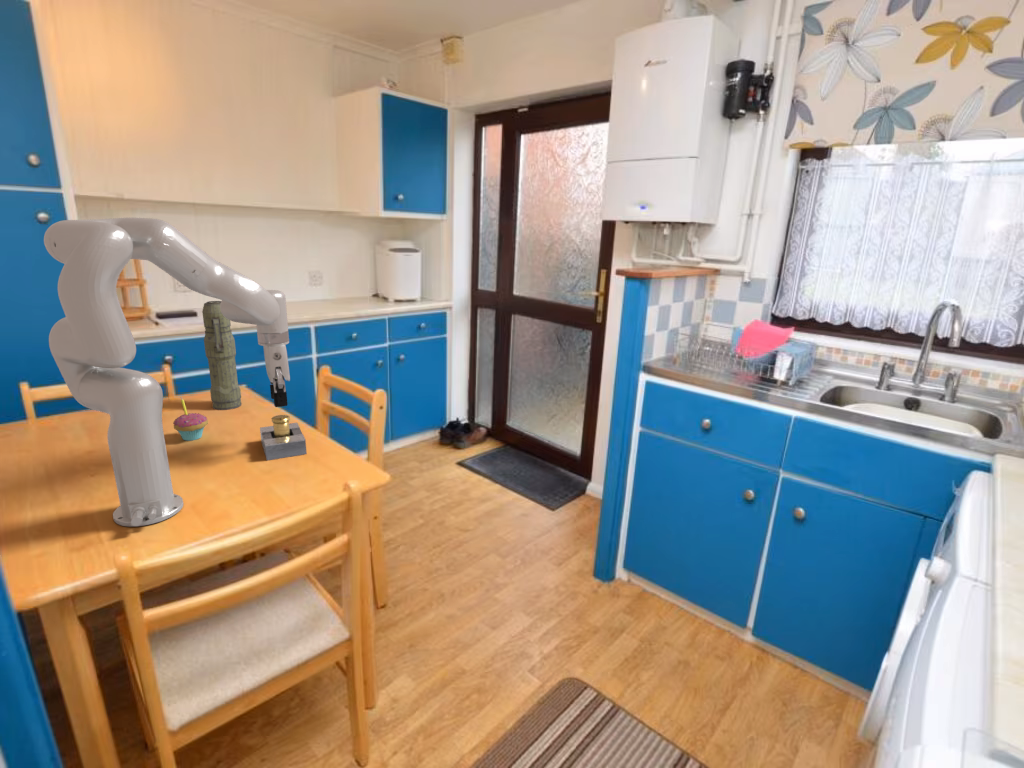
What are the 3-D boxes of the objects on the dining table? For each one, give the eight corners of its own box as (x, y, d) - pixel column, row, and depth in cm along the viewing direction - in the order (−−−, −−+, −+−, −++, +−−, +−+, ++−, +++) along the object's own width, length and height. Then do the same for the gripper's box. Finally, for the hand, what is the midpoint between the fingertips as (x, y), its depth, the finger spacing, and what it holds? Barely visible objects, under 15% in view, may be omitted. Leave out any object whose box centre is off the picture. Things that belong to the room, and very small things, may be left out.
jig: (306, 453, 146) (305, 439, 145) (266, 460, 142) (265, 445, 140) (298, 436, 158) (297, 422, 157) (261, 441, 153) (259, 427, 152)
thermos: (239, 398, 187) (228, 298, 177) (244, 408, 178) (232, 304, 168) (211, 402, 183) (197, 300, 173) (213, 412, 173) (199, 305, 163)
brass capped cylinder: (293, 449, 149) (290, 419, 146) (275, 452, 147) (272, 421, 144) (290, 443, 153) (288, 413, 150) (273, 446, 151) (270, 416, 148)
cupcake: (168, 441, 151) (161, 400, 148) (192, 430, 159) (186, 392, 156) (193, 445, 149) (187, 404, 146) (216, 434, 157) (211, 395, 154)
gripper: (293, 343, 135) (299, 410, 141) (284, 330, 150) (289, 391, 155) (261, 345, 132) (267, 414, 137) (254, 332, 146) (260, 394, 151)
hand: (279, 401), depth 146 cm, fingers open, 6 cm apart
